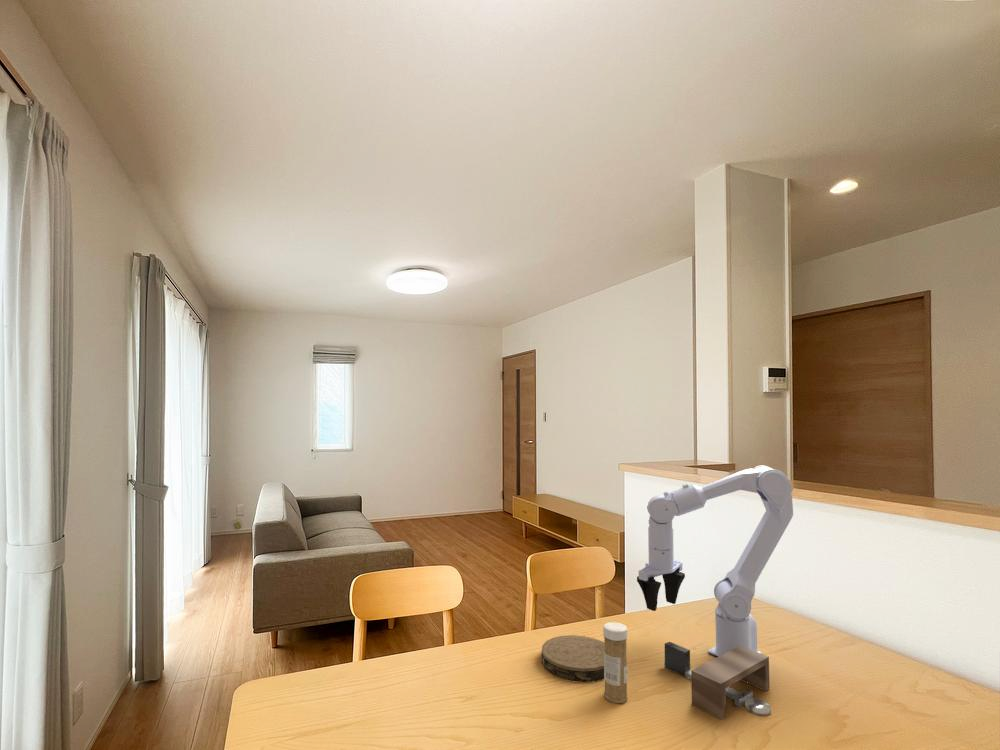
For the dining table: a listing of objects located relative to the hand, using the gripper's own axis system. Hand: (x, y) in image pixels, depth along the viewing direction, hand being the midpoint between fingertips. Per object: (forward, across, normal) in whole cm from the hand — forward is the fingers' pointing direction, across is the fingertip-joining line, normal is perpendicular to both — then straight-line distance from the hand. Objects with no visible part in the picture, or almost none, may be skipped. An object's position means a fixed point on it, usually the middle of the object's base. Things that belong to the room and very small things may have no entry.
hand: (661, 606), depth 122 cm
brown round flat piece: (+10, +22, -6) cm, 25 cm away
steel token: (+10, +7, +26) cm, 29 cm away
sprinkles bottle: (+10, +26, +8) cm, 29 cm away
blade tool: (+9, +7, +15) cm, 19 cm away
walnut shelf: (+9, +7, +21) cm, 24 cm away
